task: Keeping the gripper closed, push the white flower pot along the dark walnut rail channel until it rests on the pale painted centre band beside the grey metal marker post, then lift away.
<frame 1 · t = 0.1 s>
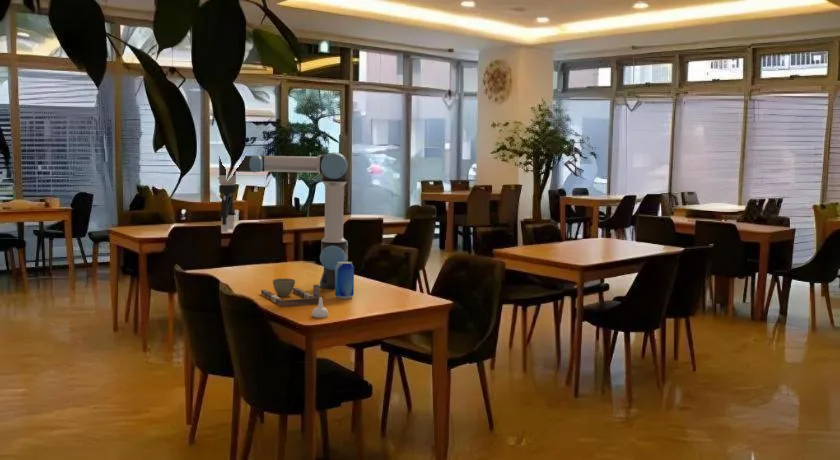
hand: (227, 230, 363), 28 cm above the table, fingers open, 13 cm apart
rail channel: (289, 298, 348), on the table
garlic bulb: (320, 317, 310), on the table
flower pot: (283, 296, 355), on the table
beer can: (344, 298, 352), on the table
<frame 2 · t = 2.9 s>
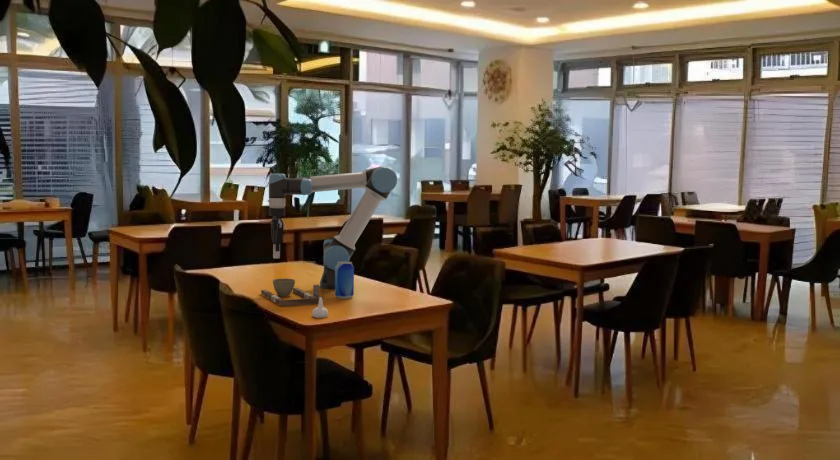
hand: (276, 258, 363), 16 cm above the table, fingers closed
nothing on the table moved.
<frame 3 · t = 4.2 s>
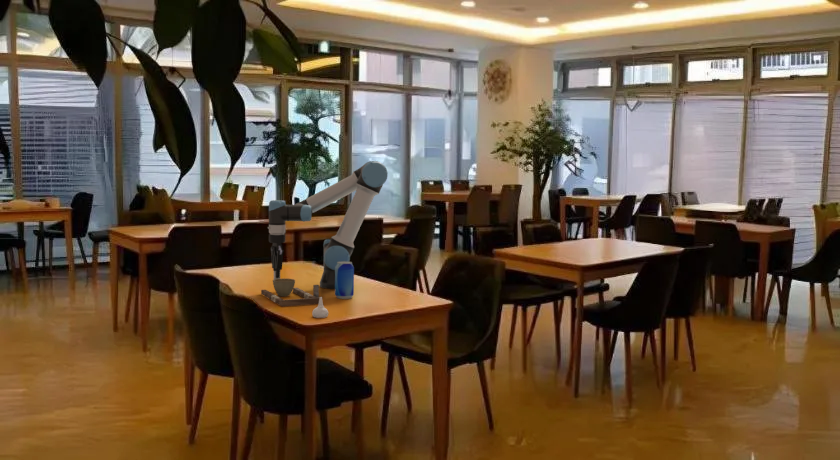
hand: (276, 284, 364), 3 cm above the table, fingers closed
nothing on the table moved.
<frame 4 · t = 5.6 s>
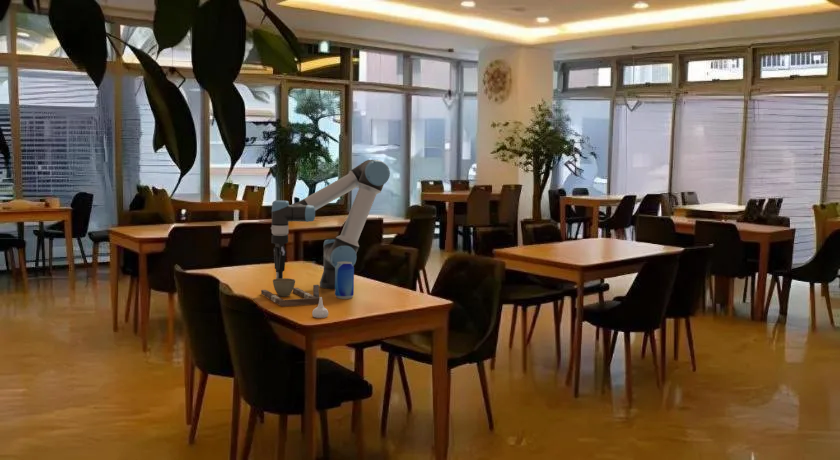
hand: (279, 285, 360), 4 cm above the table, fingers closed
flower pot: (284, 296, 354), on the table, touching gripper
everything else where it was.
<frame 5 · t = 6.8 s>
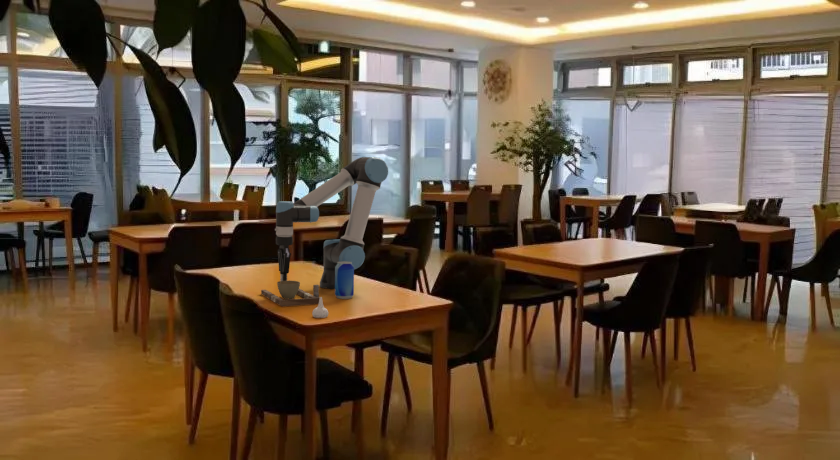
hand: (283, 287, 353), 4 cm above the table, fingers closed
flower pot: (288, 298, 348), on the table, touching gripper
everything else where it was.
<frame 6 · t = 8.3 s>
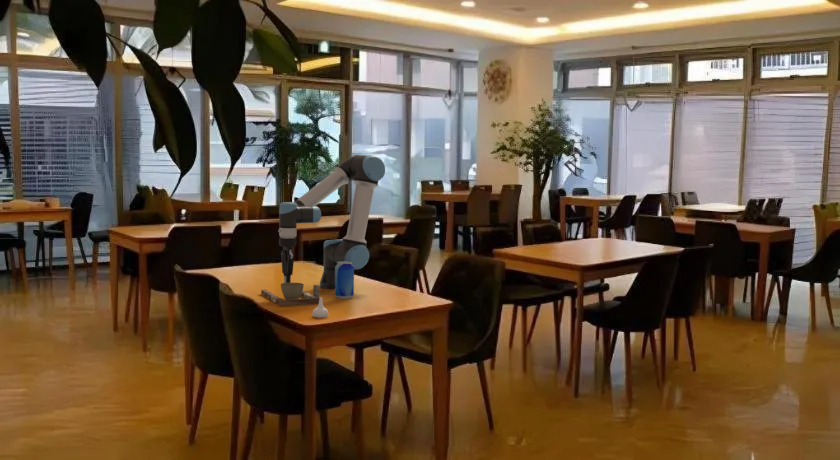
hand: (287, 289, 349), 4 cm above the table, fingers closed
flower pot: (292, 300, 344), on the table, touching gripper
everything else where it was.
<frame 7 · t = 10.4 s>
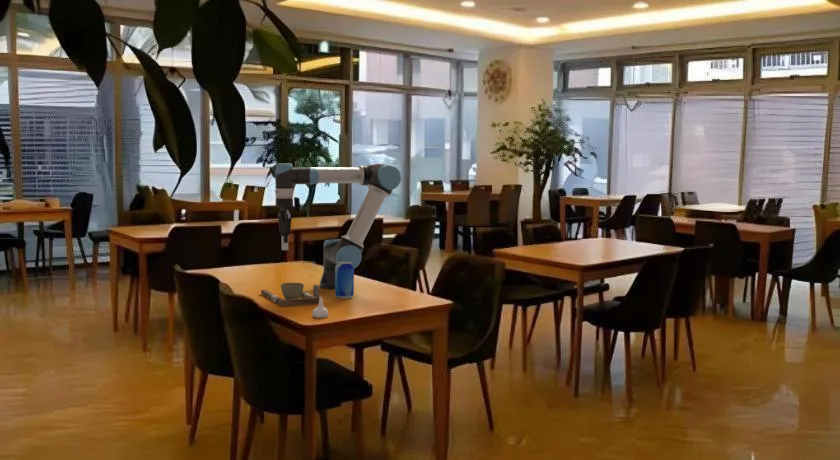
hand: (285, 249, 355), 21 cm above the table, fingers closed
flower pot: (292, 300, 344), on the table
everything else where it was.
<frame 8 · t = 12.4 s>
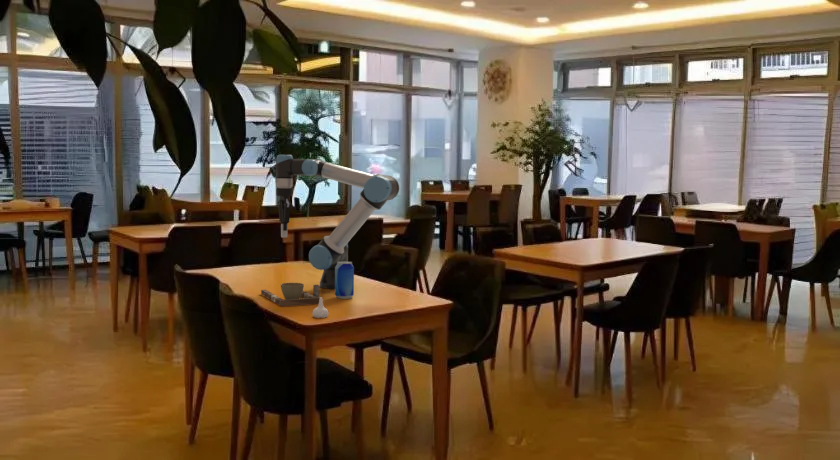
hand: (284, 237, 372), 24 cm above the table, fingers closed
nothing on the table moved.
at the end: flower pot inside the target area on the rail channel (0.5 cm from its centre), point 0.0 cm above the rail channel's base; flower pot tilted 0° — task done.
